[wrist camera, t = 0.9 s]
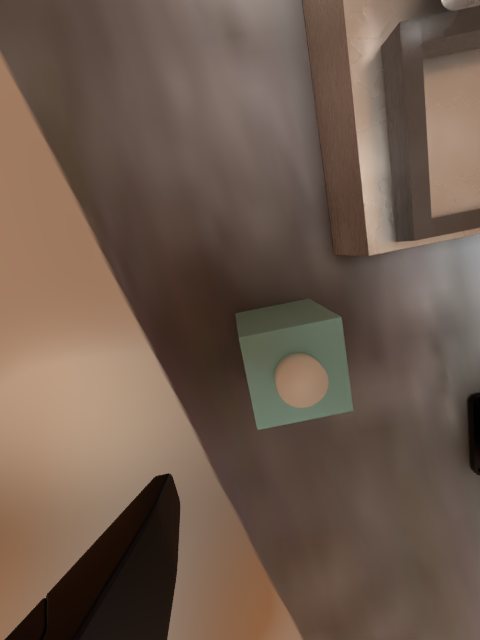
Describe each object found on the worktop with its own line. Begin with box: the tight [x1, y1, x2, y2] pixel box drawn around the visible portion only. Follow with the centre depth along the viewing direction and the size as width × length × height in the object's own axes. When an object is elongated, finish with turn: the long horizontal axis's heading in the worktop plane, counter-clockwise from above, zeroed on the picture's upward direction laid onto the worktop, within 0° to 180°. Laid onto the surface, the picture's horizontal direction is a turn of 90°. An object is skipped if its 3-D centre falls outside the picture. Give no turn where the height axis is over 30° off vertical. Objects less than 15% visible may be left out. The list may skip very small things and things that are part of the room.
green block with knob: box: [235, 299, 353, 430], centre depth 18 cm, size 5×5×7 cm
